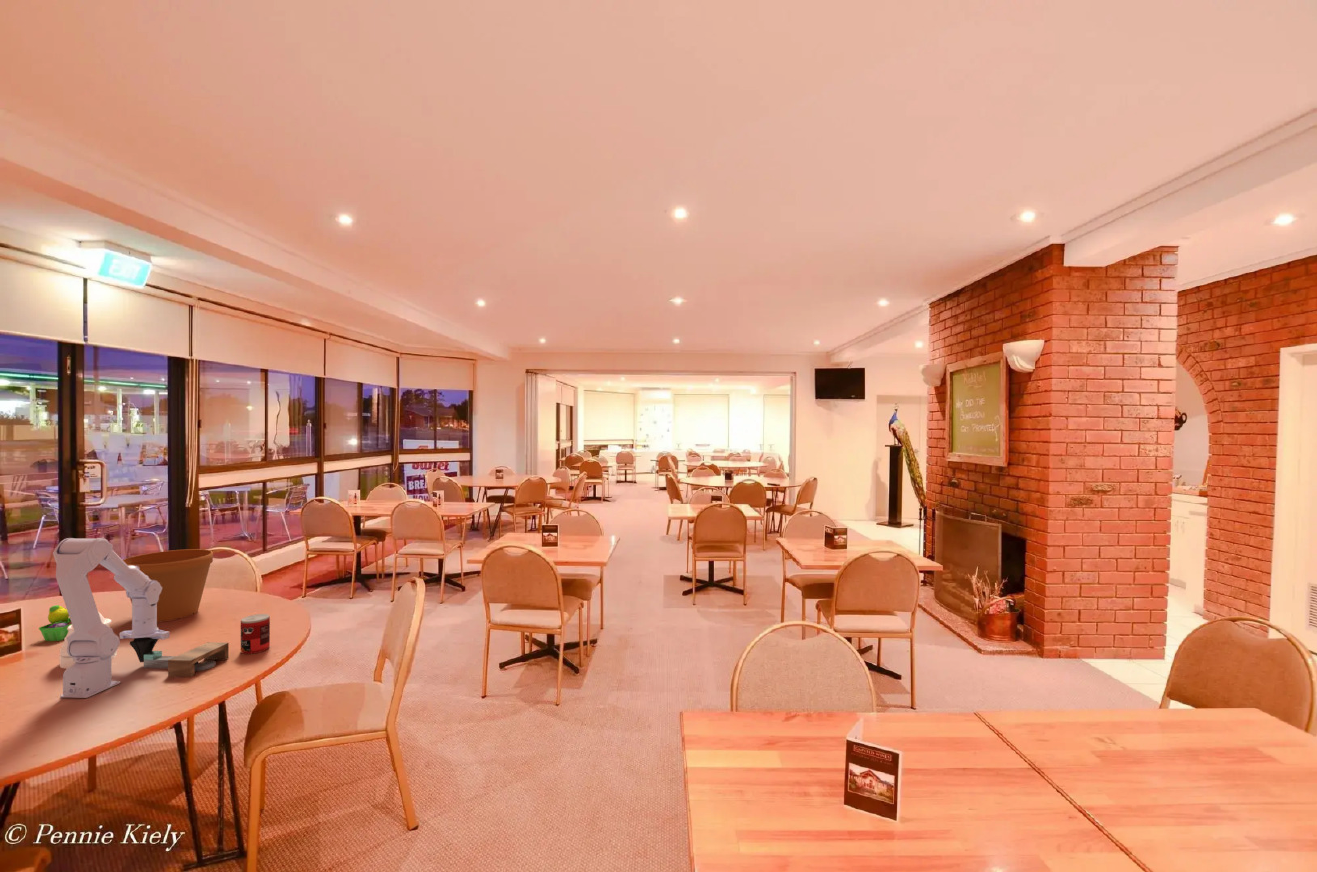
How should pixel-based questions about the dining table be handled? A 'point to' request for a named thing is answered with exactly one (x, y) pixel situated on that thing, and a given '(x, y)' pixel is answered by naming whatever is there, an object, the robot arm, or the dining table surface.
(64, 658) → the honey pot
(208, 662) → the slate coaster
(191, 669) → the wooden bridge block
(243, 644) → the canned food
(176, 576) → the flowerpot
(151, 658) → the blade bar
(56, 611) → the fruit basket
